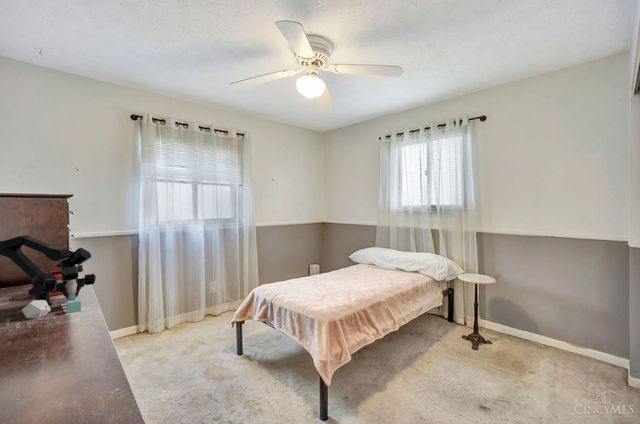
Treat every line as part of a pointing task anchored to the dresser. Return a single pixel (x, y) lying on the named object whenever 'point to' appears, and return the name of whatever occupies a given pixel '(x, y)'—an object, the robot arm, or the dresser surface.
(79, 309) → the cube
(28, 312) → the die
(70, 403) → the dresser surface
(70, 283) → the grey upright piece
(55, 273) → the plant pot
